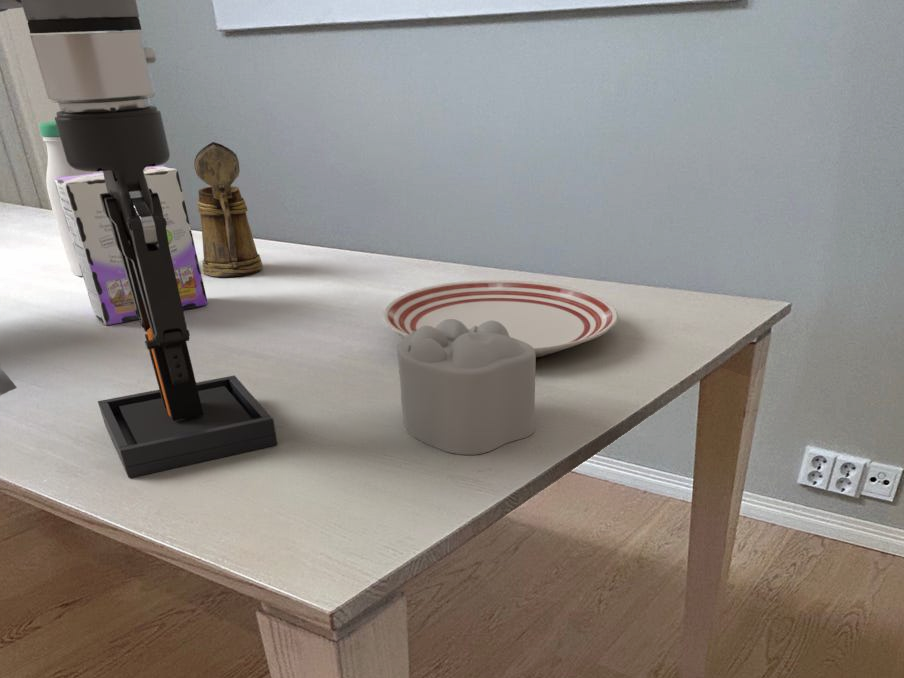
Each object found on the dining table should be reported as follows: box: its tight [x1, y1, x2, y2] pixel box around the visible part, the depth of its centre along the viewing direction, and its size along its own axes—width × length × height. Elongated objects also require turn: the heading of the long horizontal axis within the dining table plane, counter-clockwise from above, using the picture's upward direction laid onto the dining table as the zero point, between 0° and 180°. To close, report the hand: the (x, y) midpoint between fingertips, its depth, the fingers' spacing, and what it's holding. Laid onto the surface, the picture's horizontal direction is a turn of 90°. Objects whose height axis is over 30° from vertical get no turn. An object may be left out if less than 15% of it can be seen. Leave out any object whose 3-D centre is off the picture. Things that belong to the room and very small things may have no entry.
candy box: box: [54, 164, 209, 326], centre depth 105 cm, size 14×6×16 cm, turn 126°
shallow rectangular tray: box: [97, 375, 279, 479], centre depth 76 cm, size 13×13×2 cm
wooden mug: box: [194, 141, 264, 278], centre depth 120 cm, size 9×14×18 cm, turn 19°
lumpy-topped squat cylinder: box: [397, 319, 537, 456], centre depth 75 cm, size 10×13×9 cm
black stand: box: [119, 328, 253, 444], centre depth 74 cm, size 10×10×9 cm
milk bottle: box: [38, 120, 95, 277], centre depth 123 cm, size 8×8×20 cm
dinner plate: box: [382, 279, 619, 358], centre depth 97 cm, size 28×27×3 cm
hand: (183, 409), depth 75 cm, fingers closed on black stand, 3 cm apart
